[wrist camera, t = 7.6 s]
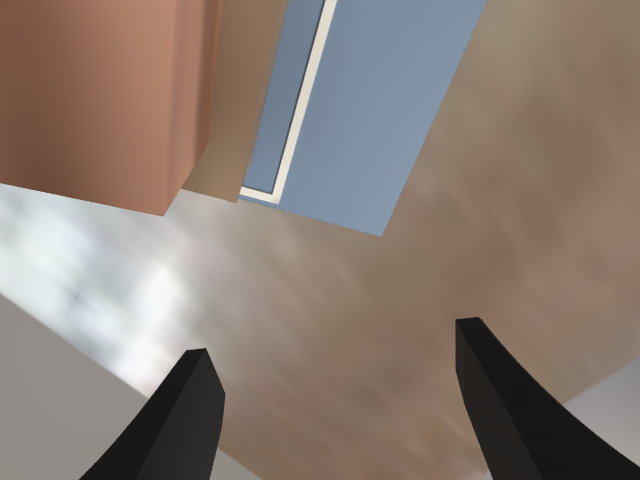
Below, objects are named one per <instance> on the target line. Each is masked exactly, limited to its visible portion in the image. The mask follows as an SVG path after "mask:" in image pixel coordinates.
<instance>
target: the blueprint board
mask: <svg viewBox="0 0 640 480" xmlns="http://www.w3.org/2000/svg"><path fill="white" fill-rule="evenodd" d="M486 2H487V0H289V2H288V6H287V10H286V15H285V19H284V23H283V27H282V32H281V36H280V40H279V44H278V49H277V53H276V57H275V62H274V66H273V70H272V74H271V79H270V83H269V87H268V91H267V96H266V100H265V104H264V108H263V113H262V117H261V121H260V126H259V130H258V134H257V138H256V143H255V147H254V151H253V155H252V160H251V163H250V166H249V169H248V171H247V174H246V177H245V180H244V182H243V185H242V188H241V191H240V194H239V196H238V199H242V200H246V201H250V202H253V203H257V204H261V205H265V206H268V207H272V208H276V209H280V210H283V211H287V212H291V213H294V214H298V215H302V216H306V217H309V218H313V219H317V220H321V221H324V222H328V223H332V224H336V225H339V226H343V227H347V228H350V229H354V230H358V231H362V232H365V233H369V234H373V235H377V236H380V237H381V236H382V234H383V232H384V230H385V228H386V225H387V223H388V221H389V219H390V216H391V214H392V212H393V210H394V207H395V205H396V203H397V201H398V198H399V196H400V194H401V192H402V190H403V187H404V185H405V183H406V181H407V178H408V176H409V174H410V172H411V169H412V167H413V165H414V163H415V160H416V158H417V156H418V154H419V151H420V149H421V147H422V145H423V143H424V140H425V138H426V136H427V134H428V131H429V129H430V127H431V125H432V122H433V120H434V118H435V116H436V113H437V111H438V109H439V107H440V105H441V102H442V100H443V98H444V96H445V93H446V91H447V89H448V87H449V84H450V82H451V80H452V78H453V75H454V73H455V71H456V69H457V66H458V64H459V62H460V60H461V58H462V55H463V53H464V51H465V49H466V46H467V44H468V42H469V40H470V37H471V35H472V33H473V31H474V28H475V26H476V24H477V22H478V19H479V17H480V15H481V13H482V11H483V8H484V6H485V4H486Z"/></svg>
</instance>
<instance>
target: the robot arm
mask: <svg viewBox="0 0 640 480" xmlns="http://www.w3.org/2000/svg"><path fill="white" fill-rule="evenodd" d="M456 373H457V377H458V381H459V385H460V389H461V393H462V397H463V400H464V404H465V407H466V410H467V412H468V415H469V418H470V420H471V423H472V426H473V428H474V431H475V434H476V436H477V439H478V441H479V444H480V447H481V449H482V452H483V455H484V457H485V460H486V462H487V465H488V468H489V470H490V472H491V476H492V478H493V480H640V467H639V466H637V465H636V464H635V463H633V462H632V461H631V460H629V459H628V458H626V457H625V456H624V455H622V454H621V453H619V452H618V451H617V450H615V449H614V448H613V447H612V446H610V445H609V444H608V443H607V442H605V441H604V440H603V439H601V438H600V437H599V436H597V435H596V434H595V433H594V432H593V431H591V430H590V429H589V428H588V427H587V426H585V425H584V424H583V423H582V422H580V421H579V420H578V419H577V418H576V417H575V416H573V415H572V414H571V413H570V412H569V411H568V410H567V409H565V408H564V407H563V406H562V405H561V404H560V403H559V402H558V401H557V400H556V399H555V398H554V397H552V396H551V395H550V394H549V393H548V392H547V391H546V390H545V389H544V388H543V387H542V386H541V385H540V384H539V383H538V382H537V381H536V380H535V379H534V378H533V377H532V376H531V375H530V374H529V373H528V372H527V371H526V370H525V369H524V368H523V367H522V366H521V365H520V364H519V363H518V362H517V360H516V359H515V358H514V357H513V356H512V355H511V354H510V353H509V352H508V351H507V349H506V348H505V347H504V346H503V345H502V344H501V343H500V341H499V340H498V339H497V338H496V337H495V336H494V334H493V333H492V332H491V331H490V329H489V328H488V327H487V326H486V324H485V323H484V322H483V321H482V319H480V318H479V317H473V318H464V319H456ZM224 403H225V392H224V389H223V387H222V384H221V382H220V380H219V377H218V375H217V373H216V370H215V368H214V366H213V363H212V361H211V359H210V356H209V354H208V352H207V349H206V348H203V349H194V350H186V351H185V353H184V354H183V355H182V357H181V358H180V359H179V360H178V362H177V363H176V364H175V366H174V367H173V368H172V370H171V371H170V372H169V374H168V375H167V376H166V378H165V379H164V380H163V382H162V383H161V384H160V386H159V387H158V388H157V390H156V391H155V392H154V394H153V395H152V396H151V398H150V399H149V400H148V401H147V403H146V404H145V405H144V407H143V408H142V409H141V410H140V412H139V413H138V414H137V416H136V417H135V418H134V419H133V420H132V422H131V423H130V424H129V425H128V426H127V428H126V429H125V430H124V431H123V432H122V434H121V435H120V436H119V437H118V438H117V439H116V441H115V442H114V443H113V444H112V445H111V446H110V448H109V449H108V450H107V451H106V452H105V453H104V454H103V455H102V456H101V457H100V458H99V460H98V461H97V462H96V463H95V464H94V465H93V466H92V467H91V468H90V469H89V470H88V471H87V472H86V473H85V474H84V475H83V476H82V477H81V478H80V479H79V480H209V479H210V475H211V471H212V466H213V462H214V458H215V454H216V450H217V446H218V441H219V437H220V433H221V428H222V421H223V413H224Z"/></svg>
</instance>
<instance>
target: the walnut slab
mask: <svg viewBox="0 0 640 480" xmlns="http://www.w3.org/2000/svg"><path fill="white" fill-rule="evenodd" d="M288 2H289V0H224V1H223V10H222V19H221V28H220V37H219V46H218V55H217V64H216V74H215V83H214V92H213V101H212V110H211V119H210V128H209V137H208V145H207V147H206V149H205V150H204V152H203V153H202V155H201V157H200V158H199V160H198V161H197V163H196V165H195V166H194V168H193V169H192V171H191V173H190V174H189V176H188V177H187V179H186V181H185V182H184V184H183V185H182V187H181V189H185V190H189V191H193V192H196V193H200V194H204V195H208V196H211V197H215V198H219V199H223V200H227V201H230V202H234V203H236V202H237V199H238V196H239V194H240V191H241V188H242V185H243V182H244V180H245V177H246V174H247V171H248V169H249V166H250V163H251V160H252V155H253V151H254V147H255V143H256V138H257V134H258V130H259V126H260V121H261V117H262V113H263V108H264V104H265V100H266V96H267V91H268V87H269V83H270V79H271V74H272V70H273V66H274V62H275V57H276V53H277V49H278V44H279V40H280V36H281V32H282V27H283V23H284V19H285V15H286V10H287V6H288Z"/></svg>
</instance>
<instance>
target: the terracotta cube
mask: <svg viewBox="0 0 640 480" xmlns="http://www.w3.org/2000/svg"><path fill="white" fill-rule="evenodd" d="M223 1H224V0H0V183H2V184H7V185H12V186H17V187H22V188H27V189H31V190H36V191H41V192H46V193H51V194H56V195H61V196H65V197H70V198H75V199H80V200H85V201H90V202H95V203H100V204H104V205H109V206H114V207H119V208H124V209H129V210H134V211H138V212H143V213H148V214H153V215H158V216H164V214H165V213H166V211H167V209H168V208H169V206H170V205H171V203H172V201H173V200H174V198H175V197H176V195H177V193H178V192H179V190H180V189H181V187H182V185H183V184H184V182H185V181H186V179H187V177H188V176H189V174H190V173H191V171H192V169H193V168H194V166H195V165H196V163H197V161H198V160H199V158H200V157H201V155H202V153H203V152H204V150H205V149H206V147H207V145H208V137H209V128H210V119H211V110H212V101H213V92H214V83H215V74H216V64H217V55H218V46H219V37H220V28H221V19H222V10H223Z"/></svg>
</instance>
